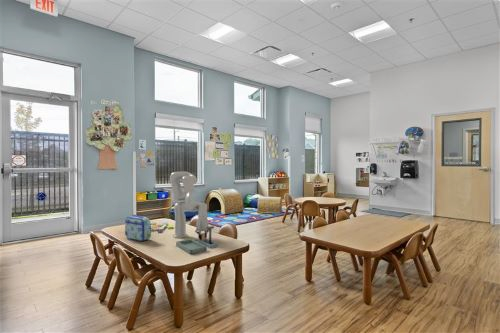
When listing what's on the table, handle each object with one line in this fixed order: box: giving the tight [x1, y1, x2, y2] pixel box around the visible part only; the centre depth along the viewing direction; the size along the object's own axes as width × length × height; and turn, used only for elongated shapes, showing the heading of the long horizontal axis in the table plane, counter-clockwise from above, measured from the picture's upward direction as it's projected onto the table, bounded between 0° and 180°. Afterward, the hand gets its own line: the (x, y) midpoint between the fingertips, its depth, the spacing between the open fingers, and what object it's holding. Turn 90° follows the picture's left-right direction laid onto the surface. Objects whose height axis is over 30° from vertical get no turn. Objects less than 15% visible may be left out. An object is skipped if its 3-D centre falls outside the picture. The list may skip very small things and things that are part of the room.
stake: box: [207, 225, 215, 245], centre depth 226 cm, size 2×6×16 cm, turn 128°
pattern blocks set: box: [150, 222, 174, 234], centre depth 281 cm, size 38×34×3 cm
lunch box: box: [124, 214, 152, 242], centre depth 244 cm, size 26×11×21 cm, turn 58°
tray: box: [175, 238, 207, 255], centre depth 219 cm, size 26×13×4 cm, turn 38°
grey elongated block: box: [197, 232, 219, 249], centre depth 229 cm, size 21×8×7 cm, turn 38°
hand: (202, 238), depth 236 cm, fingers open, 4 cm apart
